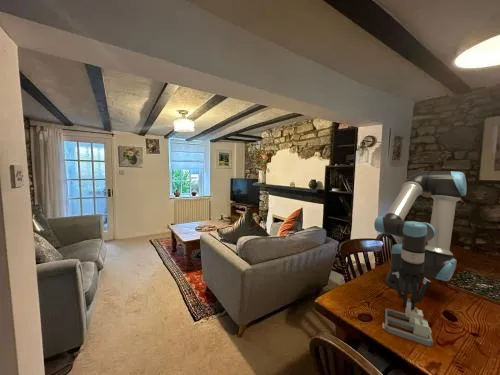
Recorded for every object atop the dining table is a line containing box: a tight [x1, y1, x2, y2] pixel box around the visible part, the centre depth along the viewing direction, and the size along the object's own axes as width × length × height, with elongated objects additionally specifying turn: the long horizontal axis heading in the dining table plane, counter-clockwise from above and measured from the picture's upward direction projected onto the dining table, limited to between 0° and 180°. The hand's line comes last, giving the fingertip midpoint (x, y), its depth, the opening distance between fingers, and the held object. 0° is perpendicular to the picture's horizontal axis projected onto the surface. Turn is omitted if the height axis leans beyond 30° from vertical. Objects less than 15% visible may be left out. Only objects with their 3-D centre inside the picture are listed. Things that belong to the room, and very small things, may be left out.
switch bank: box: [381, 308, 434, 347], centre depth 89 cm, size 14×17×3 cm
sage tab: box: [412, 317, 430, 339], centre depth 84 cm, size 4×4×7 cm
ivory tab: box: [408, 306, 424, 324], centre depth 90 cm, size 4×4×7 cm
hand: (407, 315), depth 92 cm, fingers closed
